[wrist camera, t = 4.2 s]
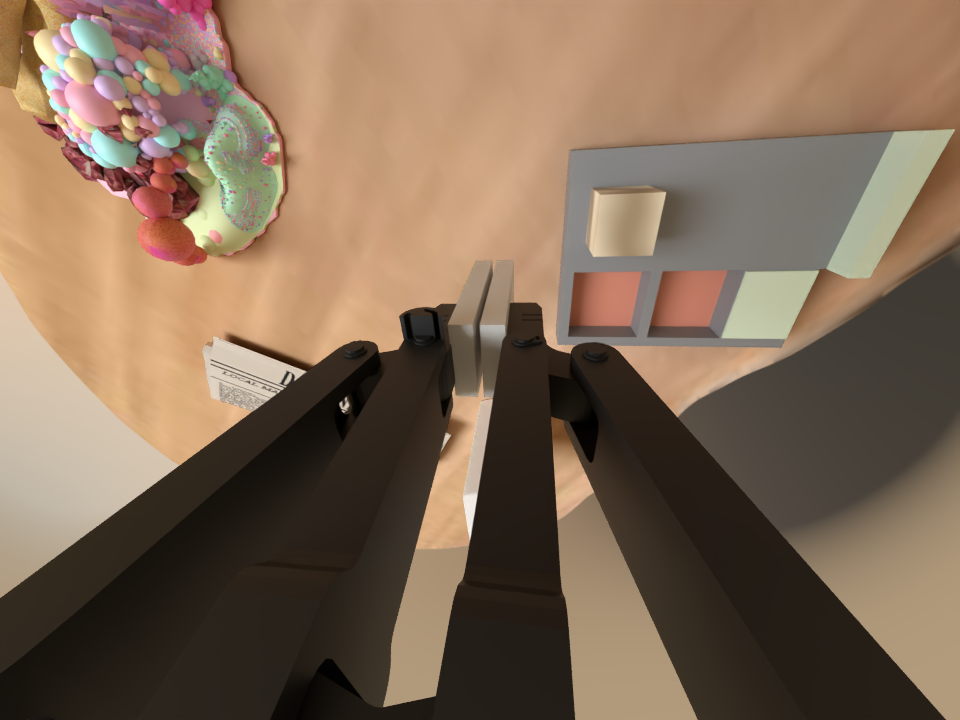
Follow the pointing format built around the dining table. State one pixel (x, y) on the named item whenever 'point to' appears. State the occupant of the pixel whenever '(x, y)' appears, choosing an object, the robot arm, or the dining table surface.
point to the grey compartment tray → (735, 233)
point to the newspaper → (249, 376)
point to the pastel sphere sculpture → (150, 115)
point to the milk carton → (476, 462)
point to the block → (624, 220)
